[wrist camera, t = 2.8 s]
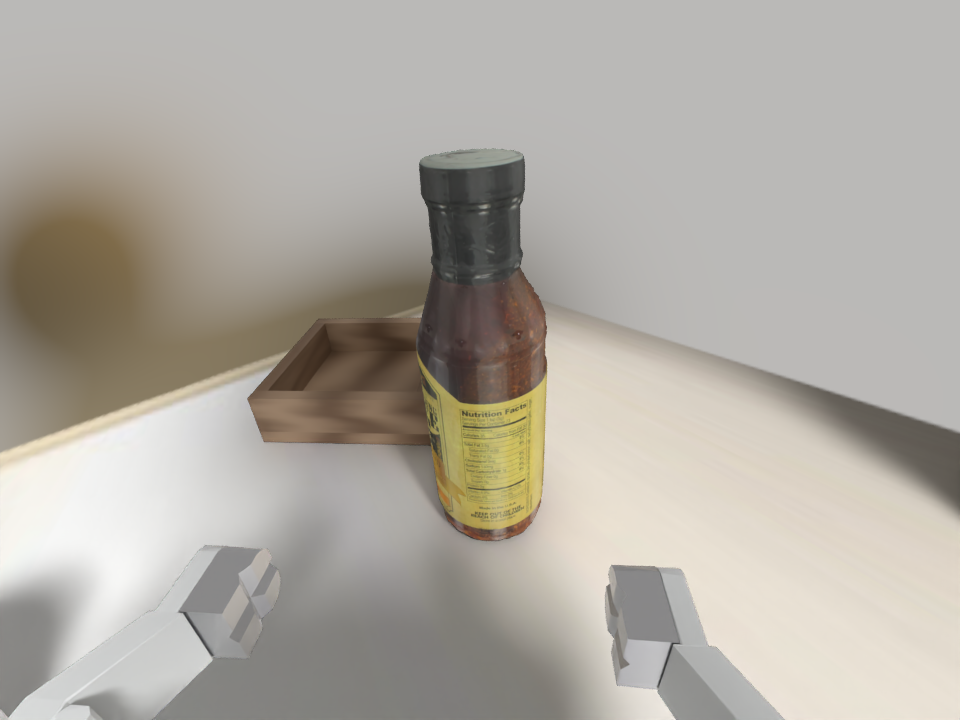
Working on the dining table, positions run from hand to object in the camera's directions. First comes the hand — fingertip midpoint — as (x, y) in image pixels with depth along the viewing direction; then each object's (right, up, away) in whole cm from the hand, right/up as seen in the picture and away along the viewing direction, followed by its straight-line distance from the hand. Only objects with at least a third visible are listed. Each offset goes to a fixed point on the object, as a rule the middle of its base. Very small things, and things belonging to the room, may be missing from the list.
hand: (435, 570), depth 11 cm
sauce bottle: (+2, -4, +17) cm, 18 cm away
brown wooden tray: (-8, +2, +28) cm, 29 cm away
